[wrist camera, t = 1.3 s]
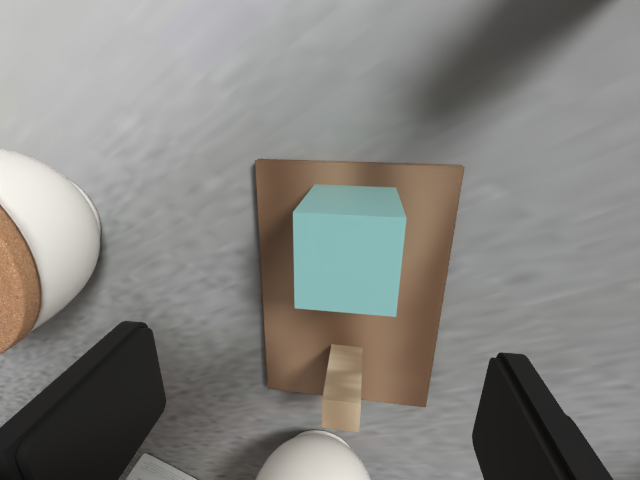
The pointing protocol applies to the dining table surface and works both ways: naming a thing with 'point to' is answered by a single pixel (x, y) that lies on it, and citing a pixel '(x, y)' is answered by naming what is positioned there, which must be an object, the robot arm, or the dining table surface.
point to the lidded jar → (313, 459)
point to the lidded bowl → (41, 244)
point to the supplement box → (155, 470)
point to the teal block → (348, 249)
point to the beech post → (343, 389)
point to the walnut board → (350, 328)
